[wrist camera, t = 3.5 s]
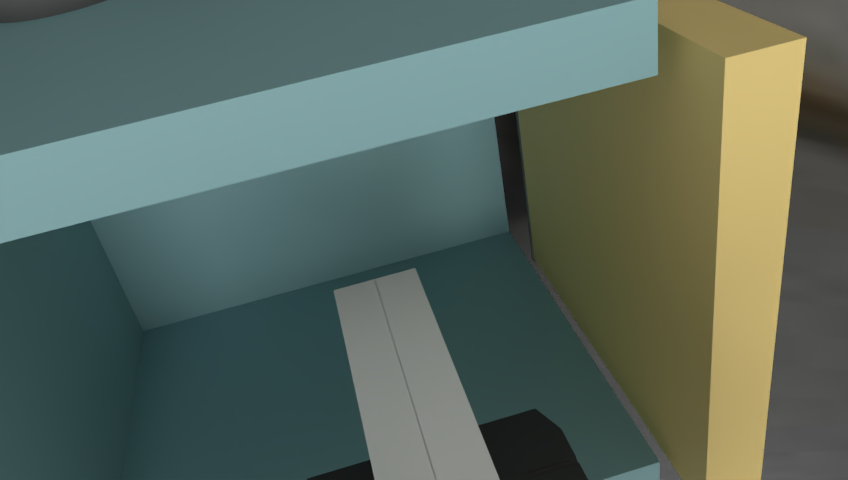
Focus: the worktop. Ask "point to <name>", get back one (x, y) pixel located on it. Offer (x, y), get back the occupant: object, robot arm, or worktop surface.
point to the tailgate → (677, 226)
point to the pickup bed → (277, 224)
